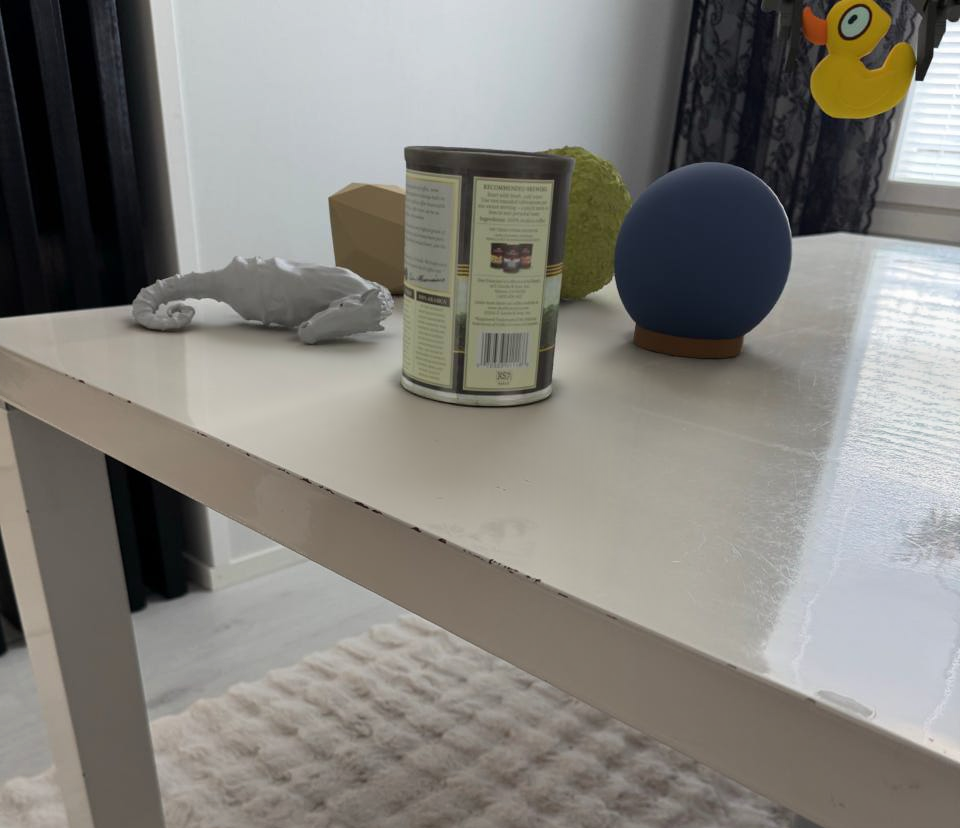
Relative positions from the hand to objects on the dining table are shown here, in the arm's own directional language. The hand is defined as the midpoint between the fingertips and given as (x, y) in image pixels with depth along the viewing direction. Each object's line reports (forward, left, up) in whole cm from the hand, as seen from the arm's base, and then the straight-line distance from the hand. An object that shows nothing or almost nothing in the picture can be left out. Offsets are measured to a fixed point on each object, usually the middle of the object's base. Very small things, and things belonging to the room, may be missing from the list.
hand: (856, 65), depth 90 cm
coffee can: (+26, +46, -22) cm, 57 cm away
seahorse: (+45, +36, -22) cm, 62 cm away
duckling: (0, -3, -5) cm, 5 cm away
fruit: (+26, +6, -22) cm, 35 cm away
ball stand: (+12, +25, -22) cm, 36 cm away
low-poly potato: (+40, +14, -22) cm, 48 cm away
